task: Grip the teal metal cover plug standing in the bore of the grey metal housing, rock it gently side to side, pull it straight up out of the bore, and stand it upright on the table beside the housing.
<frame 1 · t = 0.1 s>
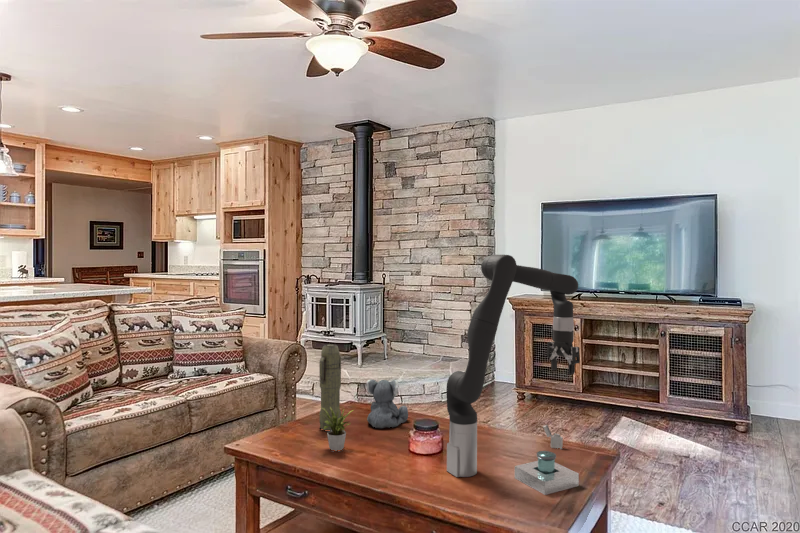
hand: (562, 372, 200), 29 cm above the table, tool pointing down, fingers open, 8 cm apart
lighter: (552, 447, 204), on the table
bore housing: (546, 482, 172), on the table
thermos: (330, 428, 225), on the table
cover plug: (546, 468, 172), in the bore housing
koala plush: (384, 424, 232), on the table
house plant: (332, 449, 200), on the table
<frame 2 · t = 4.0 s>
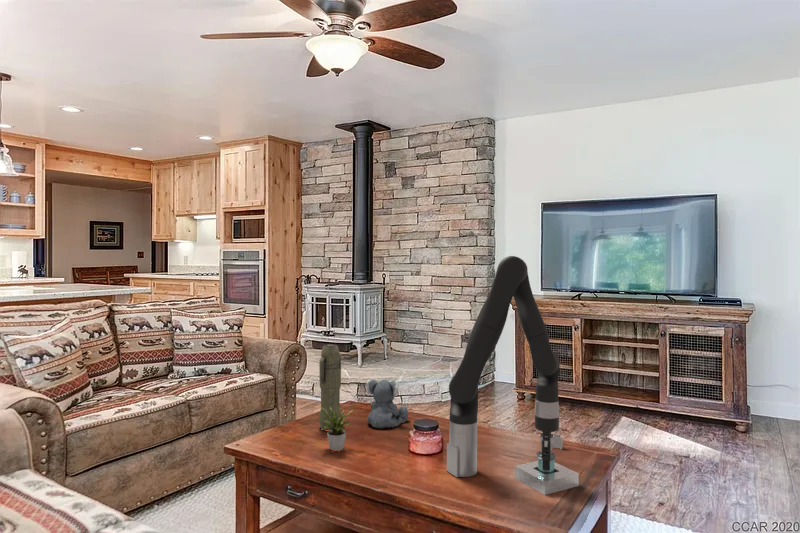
hand: (546, 466, 172), 5 cm above the table, tool pointing down, fingers closed on cover plug, 6 cm apart
cover plug: (546, 468, 172), in the bore housing, touching gripper
everything else where it was.
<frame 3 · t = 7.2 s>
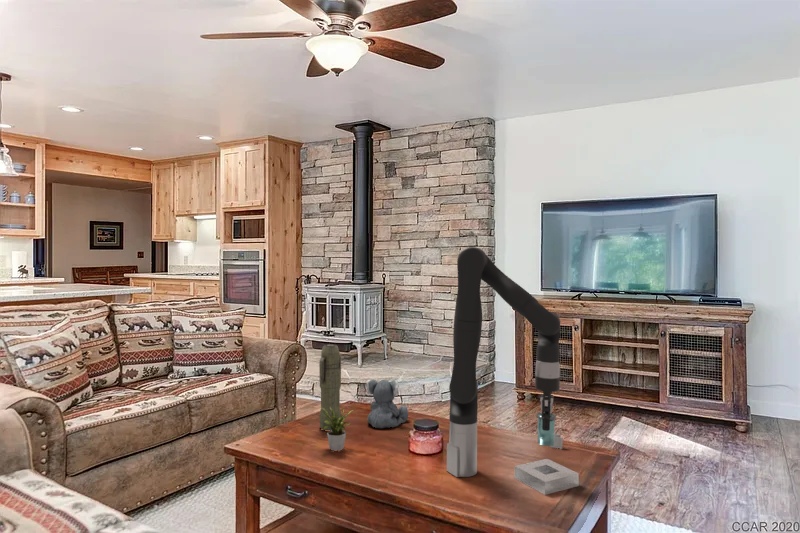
hand: (546, 426, 171), 18 cm above the table, tool pointing down, fingers closed on cover plug, 6 cm apart
cover plug: (546, 429, 171), point 17 cm above the table, touching gripper
everything else where it was.
when the fingers open (7 cm above the table, at t = 10.8 s): cover plug drops 1 cm, on the table.
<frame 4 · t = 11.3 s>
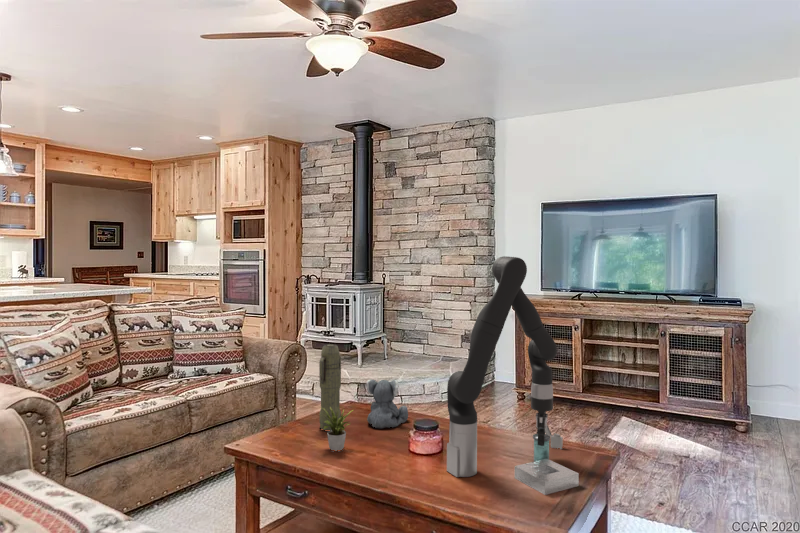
hand: (541, 441, 189), 7 cm above the table, tool pointing down, fingers open, 8 cm apart
cover plug: (541, 448, 189), on the table
everything else where it was.
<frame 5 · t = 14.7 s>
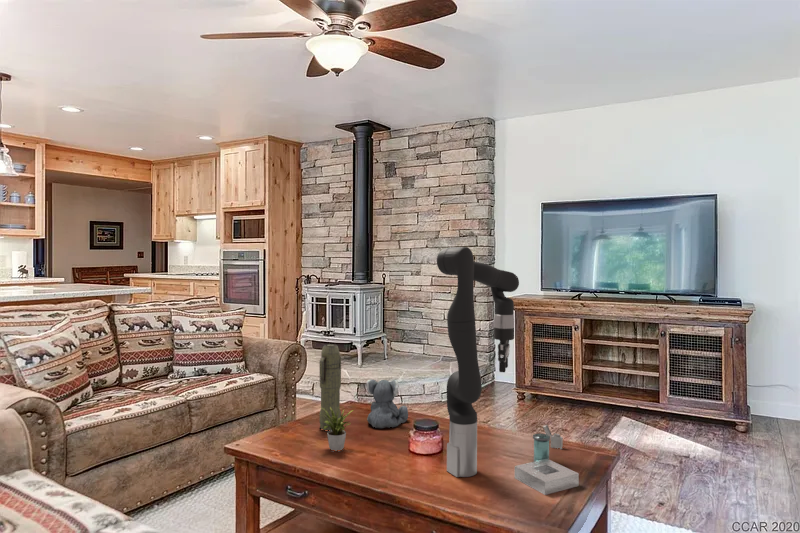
hand: (503, 369, 200), 30 cm above the table, tool pointing down, fingers open, 8 cm apart
nothing on the table moved.
at the end: cover plug inside the target area (0.1 cm from its centre), on the table; cover plug tilted 0°; the gripper is holding nothing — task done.
